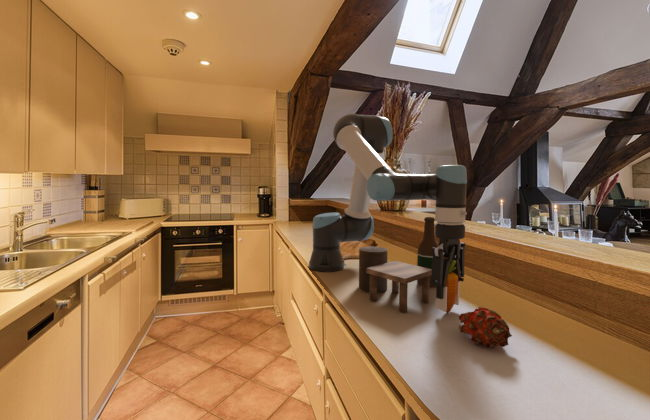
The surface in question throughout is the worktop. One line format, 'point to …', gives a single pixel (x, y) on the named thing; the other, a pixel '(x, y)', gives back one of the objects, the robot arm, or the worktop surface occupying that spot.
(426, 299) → the walnut stool
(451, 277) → the carrot
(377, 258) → the pillar candle
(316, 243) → the robot arm
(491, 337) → the dragon fruit
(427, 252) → the beer bottle
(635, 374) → the worktop surface
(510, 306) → the worktop surface
